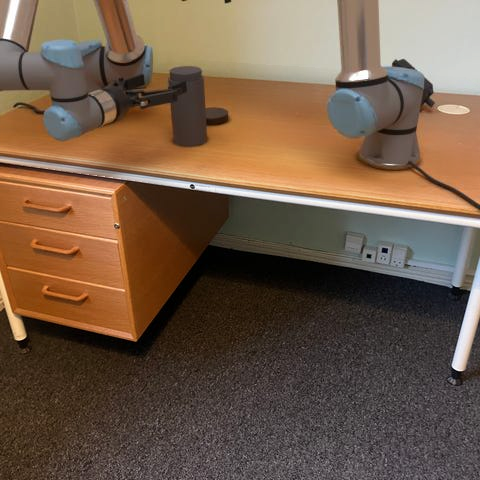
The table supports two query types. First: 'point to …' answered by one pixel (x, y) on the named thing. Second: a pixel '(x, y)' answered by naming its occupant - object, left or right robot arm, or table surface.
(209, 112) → the lid
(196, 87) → the jar
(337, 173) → the table surface
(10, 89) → the left robot arm
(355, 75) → the right robot arm
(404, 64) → the tool
